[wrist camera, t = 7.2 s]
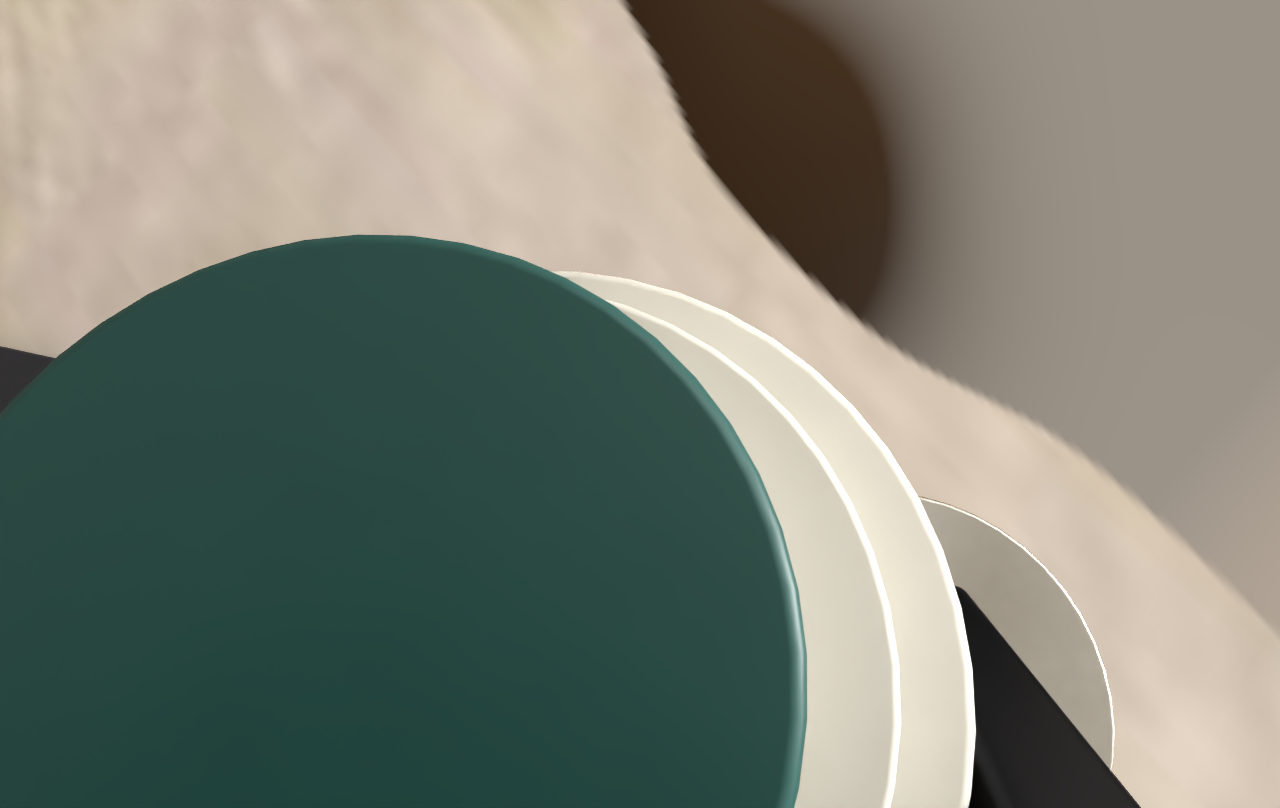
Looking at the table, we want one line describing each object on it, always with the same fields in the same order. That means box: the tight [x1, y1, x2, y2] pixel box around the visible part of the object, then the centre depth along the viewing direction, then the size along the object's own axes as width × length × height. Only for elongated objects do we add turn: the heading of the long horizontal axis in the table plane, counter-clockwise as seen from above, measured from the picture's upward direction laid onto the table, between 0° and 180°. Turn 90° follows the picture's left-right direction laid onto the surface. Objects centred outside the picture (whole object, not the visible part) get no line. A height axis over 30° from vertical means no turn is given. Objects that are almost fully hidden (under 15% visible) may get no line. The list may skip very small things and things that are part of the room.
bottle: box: [0, 235, 976, 808], centre depth 9 cm, size 6×6×12 cm
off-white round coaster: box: [918, 496, 1114, 771], centre depth 20 cm, size 9×9×1 cm
